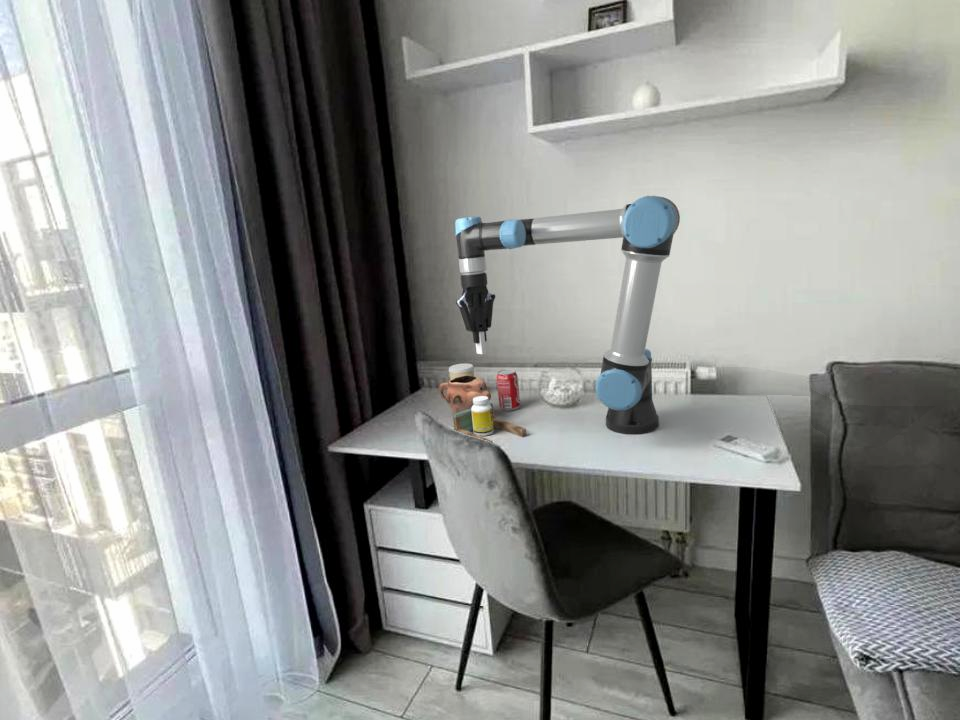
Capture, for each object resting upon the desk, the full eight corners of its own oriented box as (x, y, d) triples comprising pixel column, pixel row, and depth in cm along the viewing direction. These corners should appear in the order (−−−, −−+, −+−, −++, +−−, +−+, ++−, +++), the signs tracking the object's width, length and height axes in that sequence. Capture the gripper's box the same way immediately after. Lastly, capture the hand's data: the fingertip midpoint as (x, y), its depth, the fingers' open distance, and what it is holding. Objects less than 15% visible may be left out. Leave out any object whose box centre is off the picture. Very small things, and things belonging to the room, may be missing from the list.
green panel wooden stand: (526, 435, 162) (524, 413, 161) (488, 449, 154) (486, 427, 153) (491, 422, 176) (489, 402, 174) (454, 435, 168) (452, 414, 166)
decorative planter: (430, 422, 181) (426, 382, 178) (449, 410, 192) (445, 372, 188) (485, 428, 172) (481, 385, 169) (501, 415, 182) (498, 374, 179)
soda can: (520, 410, 185) (518, 373, 182) (499, 412, 185) (496, 375, 182) (519, 404, 192) (517, 367, 189) (499, 405, 192) (496, 369, 189)
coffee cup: (476, 392, 210) (473, 362, 207) (477, 400, 200) (474, 368, 198) (451, 395, 209) (448, 364, 207) (451, 402, 200) (448, 370, 197)
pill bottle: (496, 434, 166) (493, 399, 163) (477, 438, 164) (473, 402, 162) (490, 427, 172) (487, 393, 169) (471, 431, 170) (467, 397, 167)
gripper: (483, 270, 164) (490, 347, 170) (447, 275, 157) (456, 356, 162) (499, 270, 158) (506, 350, 164) (462, 275, 151) (471, 359, 156)
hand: (481, 353), depth 163 cm, fingers closed
